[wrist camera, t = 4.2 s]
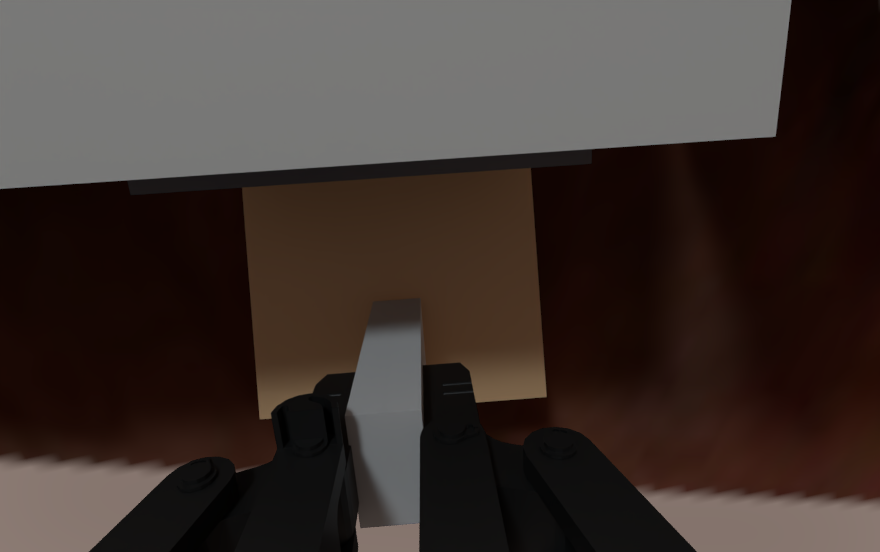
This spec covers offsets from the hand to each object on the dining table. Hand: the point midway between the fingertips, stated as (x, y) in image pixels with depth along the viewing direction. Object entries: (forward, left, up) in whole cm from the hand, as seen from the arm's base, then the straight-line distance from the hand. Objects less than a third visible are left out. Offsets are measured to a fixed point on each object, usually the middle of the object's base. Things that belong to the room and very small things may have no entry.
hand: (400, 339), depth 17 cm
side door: (0, +5, -2) cm, 6 cm away
